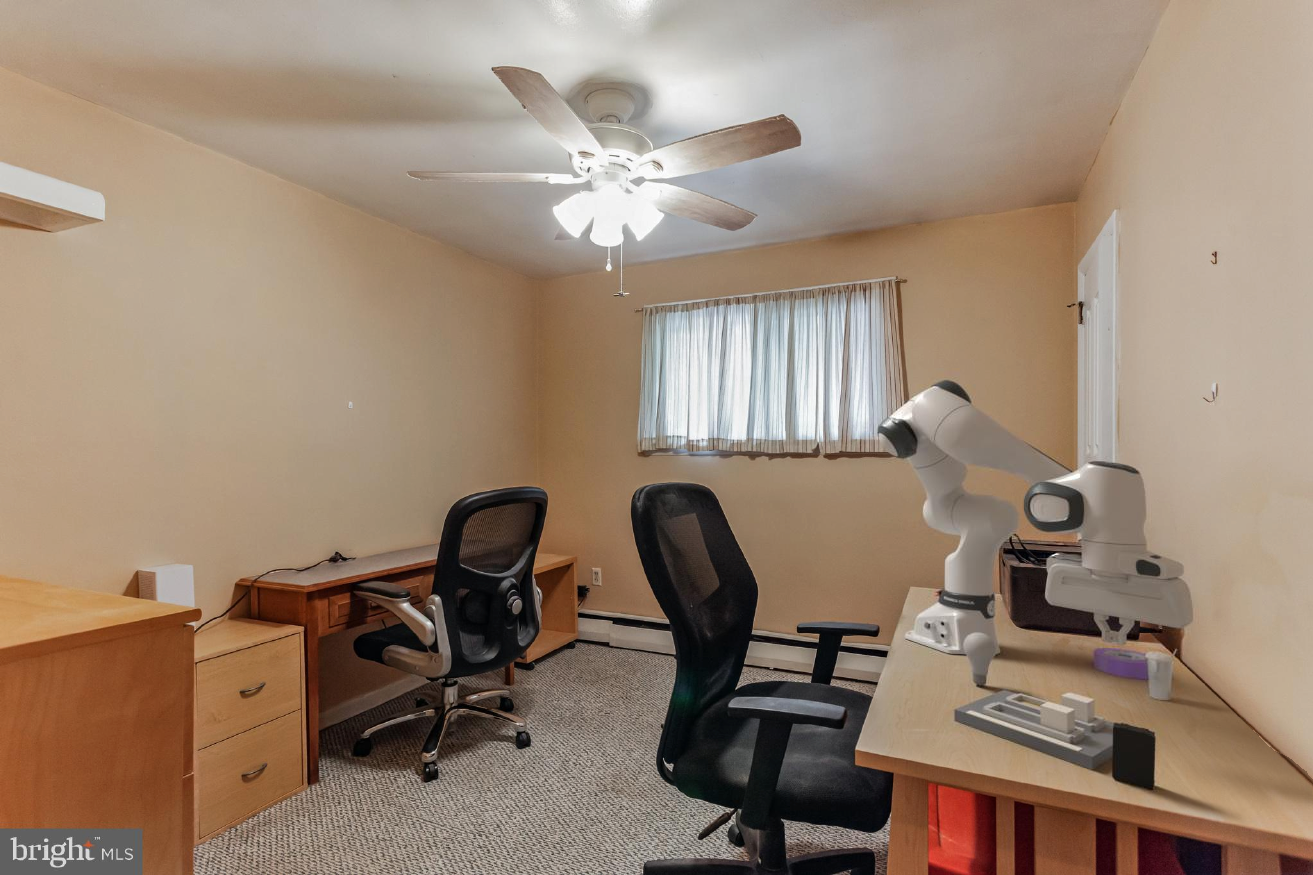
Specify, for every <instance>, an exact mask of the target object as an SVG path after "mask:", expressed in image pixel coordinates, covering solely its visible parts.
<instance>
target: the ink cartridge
mask: <svg viewBox="0 0 1313 875" xmlns="http://www.w3.org/2000/svg"><path fill="white" fill-rule="evenodd" d="M1113 723H1114V725H1113V753H1112V758H1111V759H1112V761H1111V777H1112V779H1114V780H1115V781H1117V782H1120V783H1123V784H1127V785H1131V786H1134V787H1137V788H1141V789H1145V790H1149V791H1154V790H1155V789H1154V788H1155V783H1156V781H1155V776H1156V775H1155V772H1156V770H1155V769H1156V765H1155V764H1156V762H1155V761H1156V737H1157V736H1156V733H1155V732H1154V731H1151V730H1150V729H1149V728H1145V727H1138V726H1135V725H1131V724H1129V723H1123V722H1121V723H1119V722H1113Z"/></svg>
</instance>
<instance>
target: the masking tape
mask: <svg viewBox="0 0 1313 875" xmlns="http://www.w3.org/2000/svg"><path fill="white" fill-rule="evenodd" d="M1145 654H1146V653H1143V652H1140V651H1135V650H1130V649H1126V648H1125V649H1123V648H1117V647H1116V648H1115V647H1099V648H1095V649H1094V650H1093V667H1094V668H1095V669H1096V670H1099V671H1101V672H1103V673H1107V674H1109V675H1112V676H1116V677H1121V678H1127V679H1133V680H1134V679H1135V680H1148V674H1147V666H1146V658H1145Z"/></svg>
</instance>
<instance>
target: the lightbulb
mask: <svg viewBox="0 0 1313 875" xmlns="http://www.w3.org/2000/svg"><path fill="white" fill-rule="evenodd" d="M963 647H964V651H965V653H966V654H965V655H966V656H967V659H968V661H969V663H970V664H969V665H970V670H971V673H972V674H971V675H972V682H973V683H974V684H976V686H978V687H982V686H984V685H986V684H987V675H988V673H989V667H990V664H991V662H992V660H994V657H996V654H995V653H996V646H995V643H994V642H993V640H992V639H991V638H990V637H989V636H987V635H986V634H983V633H972V634H970V635H968V636H967V637H966V639H965V641H964V644H963Z"/></svg>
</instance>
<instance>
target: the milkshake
mask: <svg viewBox="0 0 1313 875" xmlns="http://www.w3.org/2000/svg"><path fill="white" fill-rule="evenodd" d="M1177 651H1178V649H1177V648H1175V649H1174V651H1173V653H1172V655H1169V654H1167V653H1165V652H1161V651H1157V650H1155V651H1153V650H1149V651H1148V652H1146V653H1144V654H1145V658H1146V666H1147V674H1148V679H1147V682H1148V684H1147V685H1148V694H1149V697H1150V698H1152V699H1155V700H1160V701H1170V700H1171V692H1172V682H1173V681H1172V680H1173V679H1172V678H1173V669H1174V661H1175V659H1174V657H1175V655H1176V653H1177Z"/></svg>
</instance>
